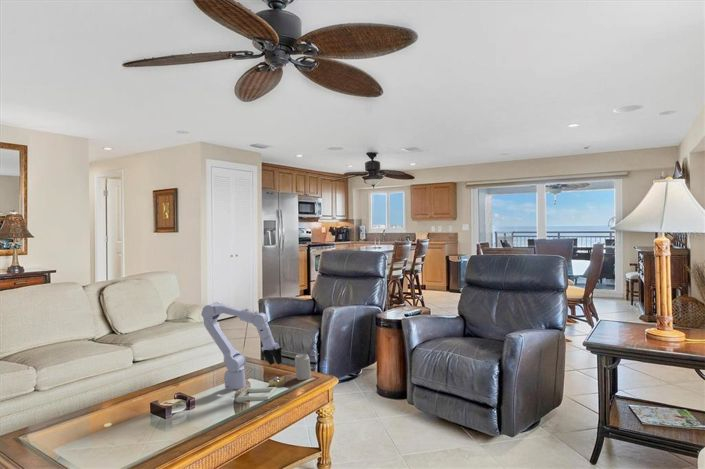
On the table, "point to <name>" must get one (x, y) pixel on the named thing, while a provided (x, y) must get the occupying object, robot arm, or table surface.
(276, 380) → the square base with knob
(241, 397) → the tray
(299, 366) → the can
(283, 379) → the square frame with tab
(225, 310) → the robot arm
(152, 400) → the table surface
